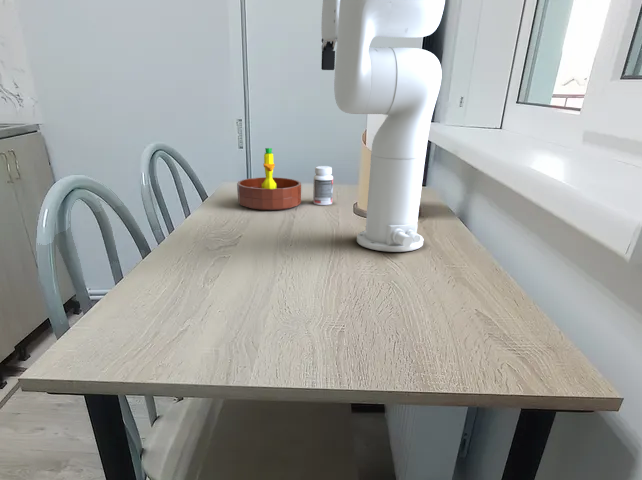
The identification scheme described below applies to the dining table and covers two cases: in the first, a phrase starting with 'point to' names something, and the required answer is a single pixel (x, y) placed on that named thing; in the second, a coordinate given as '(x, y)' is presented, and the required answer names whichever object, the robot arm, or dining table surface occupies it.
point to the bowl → (269, 194)
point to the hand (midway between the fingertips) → (335, 70)
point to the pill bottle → (323, 186)
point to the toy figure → (268, 170)
